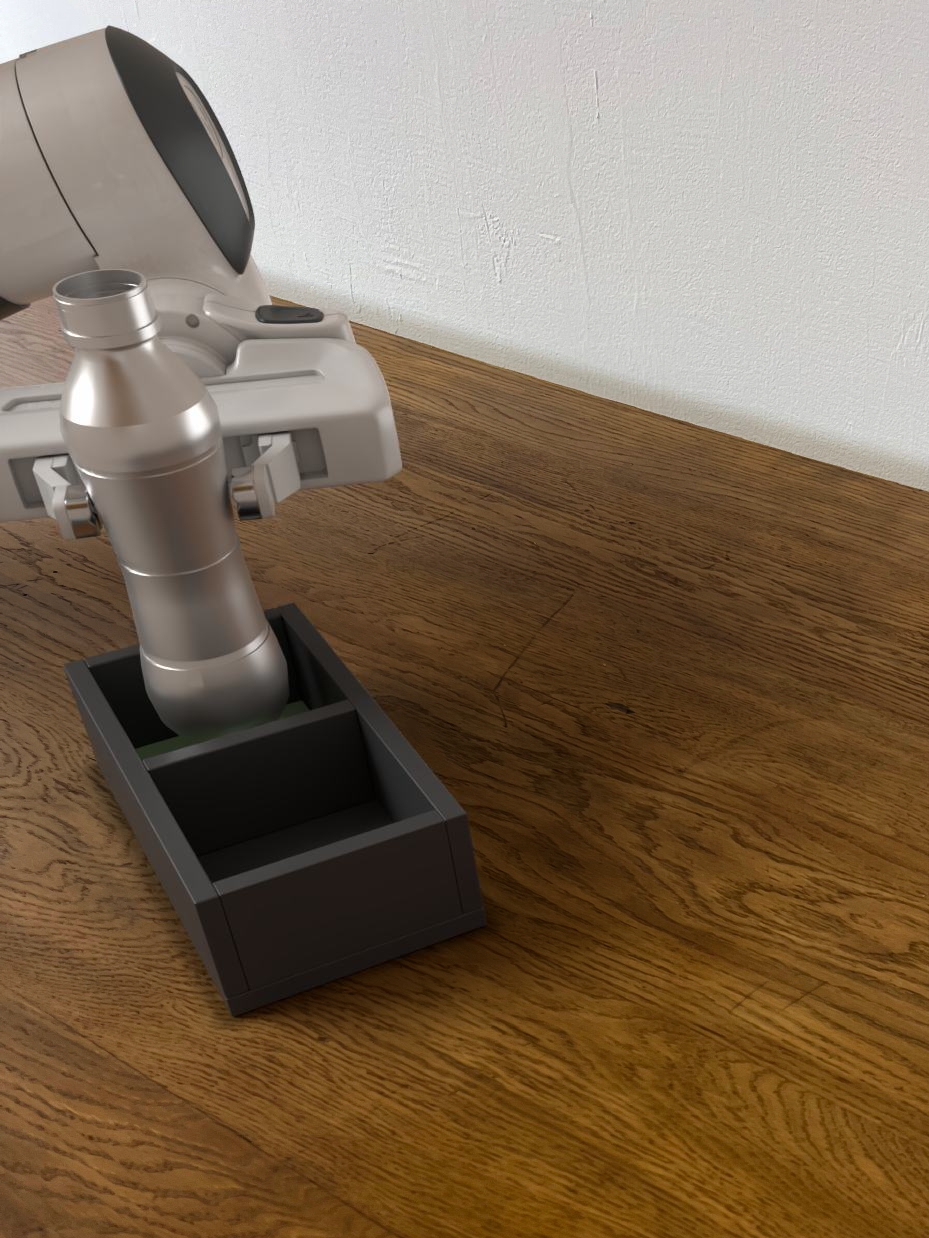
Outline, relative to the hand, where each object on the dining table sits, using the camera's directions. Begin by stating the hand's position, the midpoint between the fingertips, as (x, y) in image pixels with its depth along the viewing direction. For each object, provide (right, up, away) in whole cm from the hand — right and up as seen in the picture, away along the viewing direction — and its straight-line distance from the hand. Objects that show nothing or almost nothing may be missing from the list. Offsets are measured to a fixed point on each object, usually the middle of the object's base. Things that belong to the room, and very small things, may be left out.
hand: (165, 512), depth 67 cm
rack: (+3, -13, +7) cm, 15 cm away
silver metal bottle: (0, -8, +8) cm, 11 cm away
